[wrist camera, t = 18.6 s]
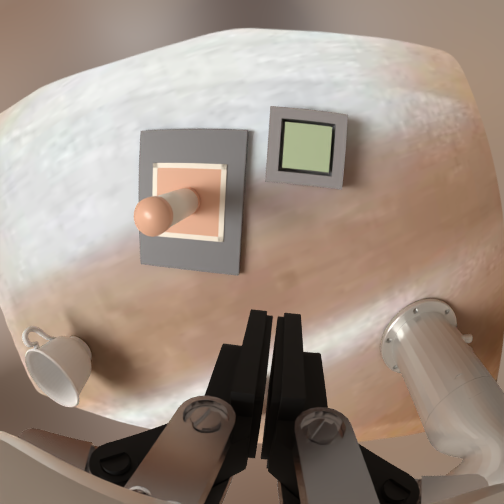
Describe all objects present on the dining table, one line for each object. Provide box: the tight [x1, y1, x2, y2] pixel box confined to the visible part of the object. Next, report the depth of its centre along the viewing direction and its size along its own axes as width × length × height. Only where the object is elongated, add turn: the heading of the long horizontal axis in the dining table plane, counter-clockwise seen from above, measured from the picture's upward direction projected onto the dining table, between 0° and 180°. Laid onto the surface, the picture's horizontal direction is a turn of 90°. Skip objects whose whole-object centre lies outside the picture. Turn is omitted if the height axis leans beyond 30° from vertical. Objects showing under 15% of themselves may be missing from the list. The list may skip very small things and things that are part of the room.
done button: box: [282, 122, 332, 173], centre depth 29 cm, size 5×5×2 cm
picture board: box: [139, 129, 248, 275], centre depth 34 cm, size 13×17×1 cm
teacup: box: [22, 326, 92, 407], centre depth 39 cm, size 12×15×10 cm
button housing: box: [265, 106, 348, 190], centre depth 30 cm, size 8×8×3 cm
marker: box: [134, 188, 201, 237], centre depth 29 cm, size 3×3×10 cm
